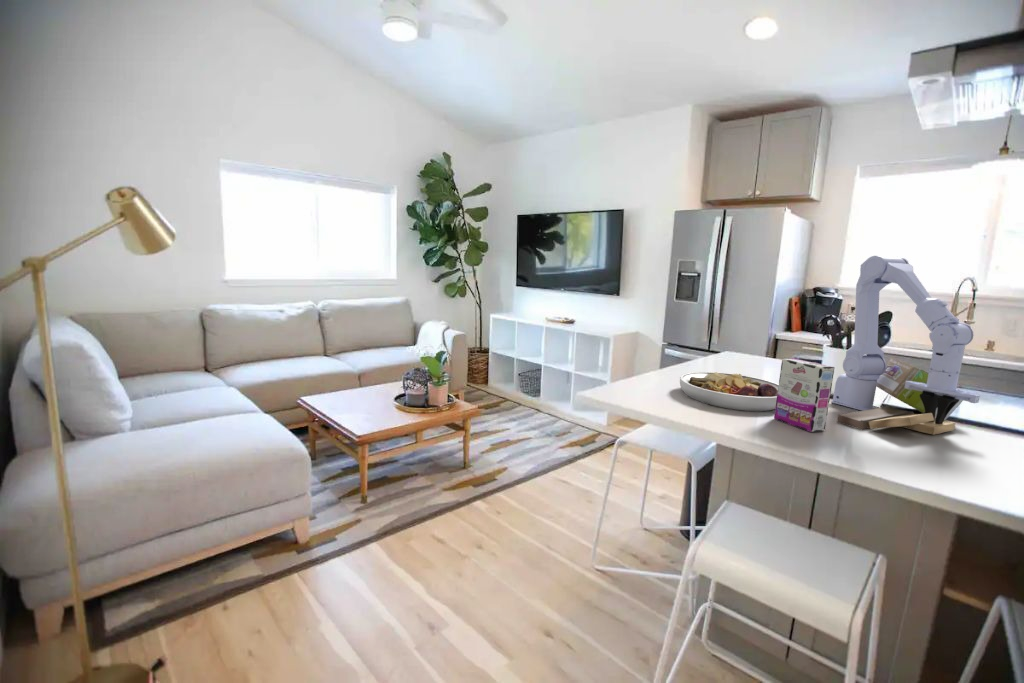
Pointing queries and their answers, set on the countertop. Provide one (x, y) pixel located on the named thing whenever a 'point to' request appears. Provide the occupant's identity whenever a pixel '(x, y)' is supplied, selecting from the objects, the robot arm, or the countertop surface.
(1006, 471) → the countertop surface
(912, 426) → the plank
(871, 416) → the floor board
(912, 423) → the plank
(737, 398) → the bowl
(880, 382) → the tea box
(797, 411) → the candy bar box
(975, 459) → the countertop surface
